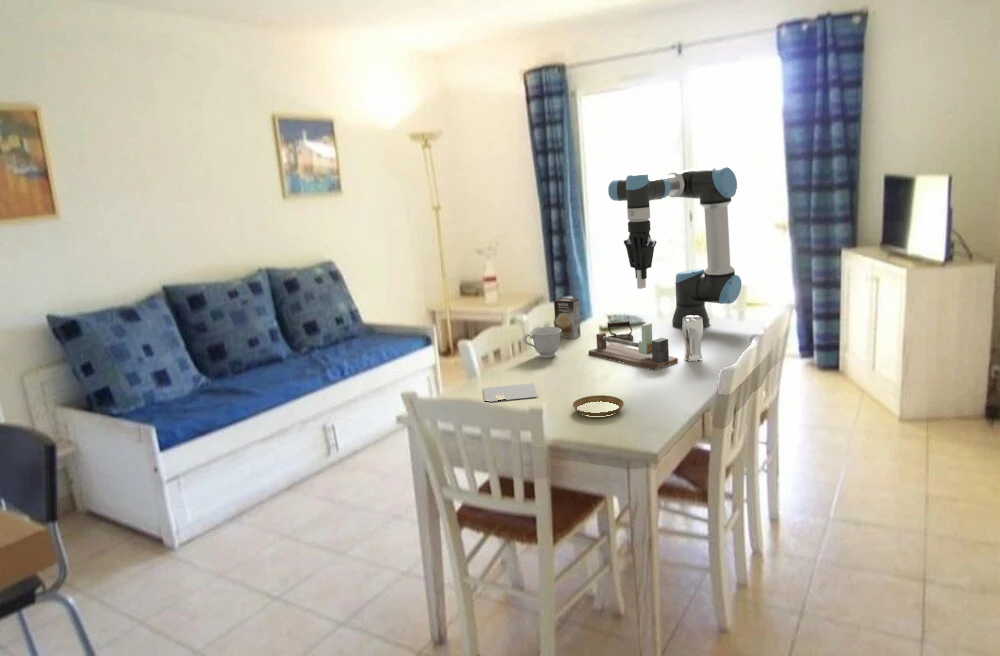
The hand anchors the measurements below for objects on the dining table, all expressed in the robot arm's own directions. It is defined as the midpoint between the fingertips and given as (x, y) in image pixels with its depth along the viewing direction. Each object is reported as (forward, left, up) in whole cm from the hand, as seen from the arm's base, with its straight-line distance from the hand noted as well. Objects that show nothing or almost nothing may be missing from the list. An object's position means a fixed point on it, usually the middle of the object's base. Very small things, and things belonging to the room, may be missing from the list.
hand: (641, 287), depth 239 cm
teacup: (+19, -33, -27) cm, 46 cm away
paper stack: (+48, -11, -27) cm, 56 cm away
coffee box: (-7, -47, -27) cm, 55 cm away
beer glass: (-11, +13, -27) cm, 31 cm away
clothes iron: (-15, -26, -27) cm, 40 cm away
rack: (+1, -5, -26) cm, 27 cm away
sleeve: (+1, +3, -23) cm, 23 cm away
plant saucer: (+47, +24, -27) cm, 59 cm away
